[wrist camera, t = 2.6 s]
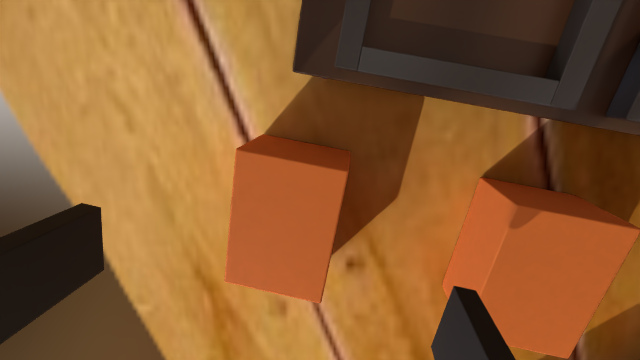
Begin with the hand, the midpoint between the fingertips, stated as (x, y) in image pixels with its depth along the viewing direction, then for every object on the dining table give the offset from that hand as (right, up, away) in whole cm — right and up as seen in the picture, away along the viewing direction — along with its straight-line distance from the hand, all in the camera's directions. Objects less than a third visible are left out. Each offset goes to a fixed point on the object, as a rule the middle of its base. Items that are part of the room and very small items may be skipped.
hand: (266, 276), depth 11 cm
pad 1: (+1, +2, +7) cm, 7 cm away
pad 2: (+12, 0, +6) cm, 14 cm away
